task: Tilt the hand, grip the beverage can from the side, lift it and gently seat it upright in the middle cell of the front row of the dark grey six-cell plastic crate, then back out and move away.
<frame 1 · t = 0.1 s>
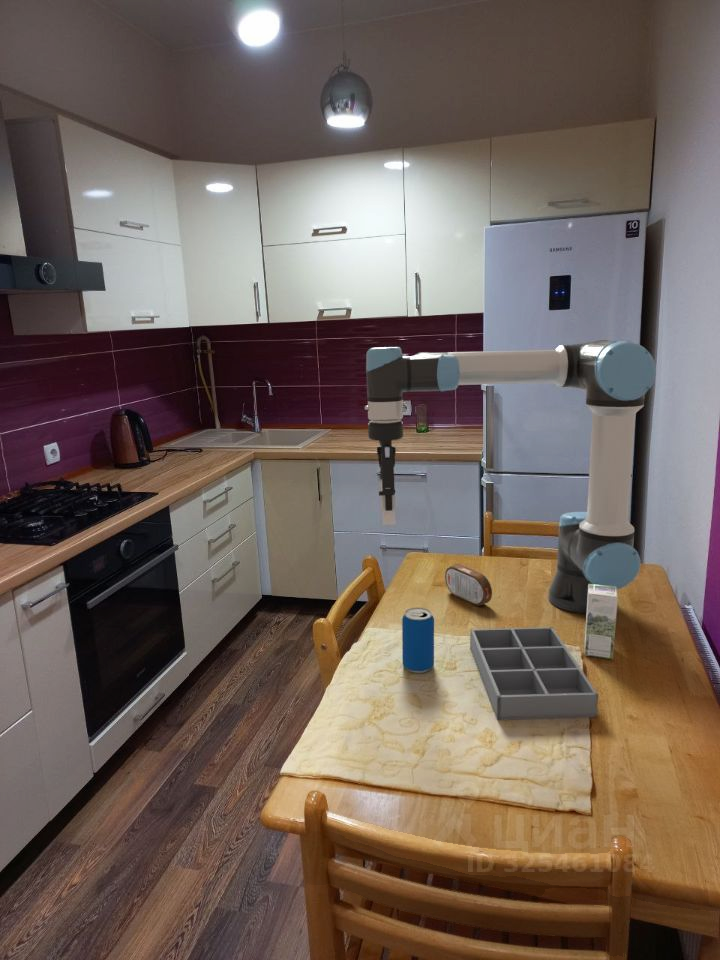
hand: (387, 515, 142), 28 cm above the table, tool pointing down, fingers open, 13 cm apart
beverage can: (418, 667, 133), on the table
syrup box: (598, 652, 137), on the table
can crate: (527, 679, 127), on the table
tin: (466, 600, 165), on the table
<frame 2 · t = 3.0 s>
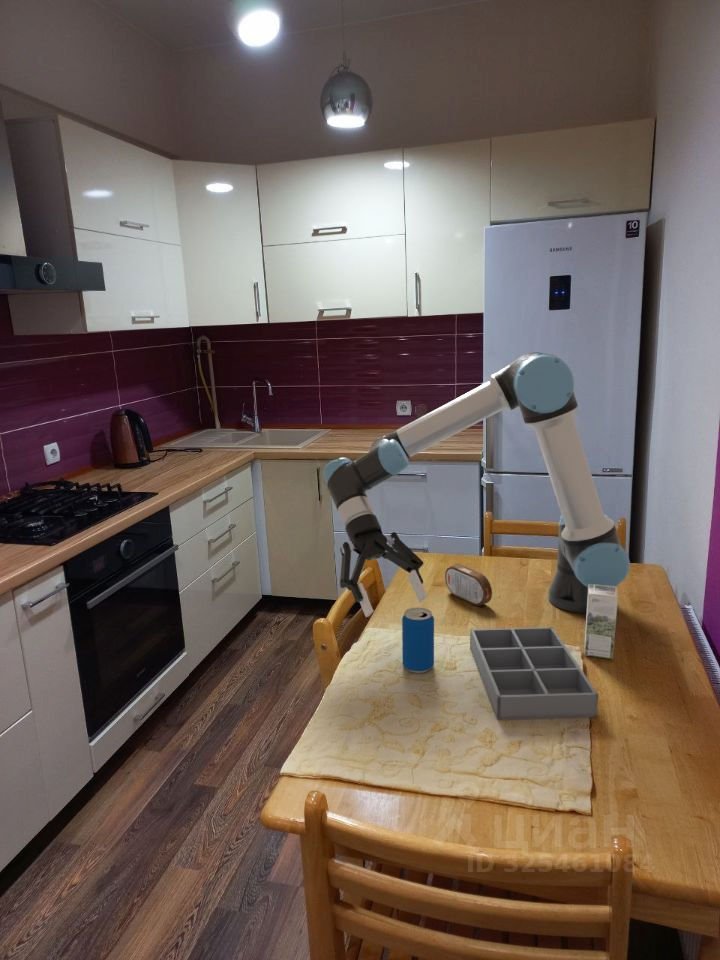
hand: (397, 606, 135), 11 cm above the table, tool tilted 45°, fingers open, 13 cm apart
nothing on the table moved.
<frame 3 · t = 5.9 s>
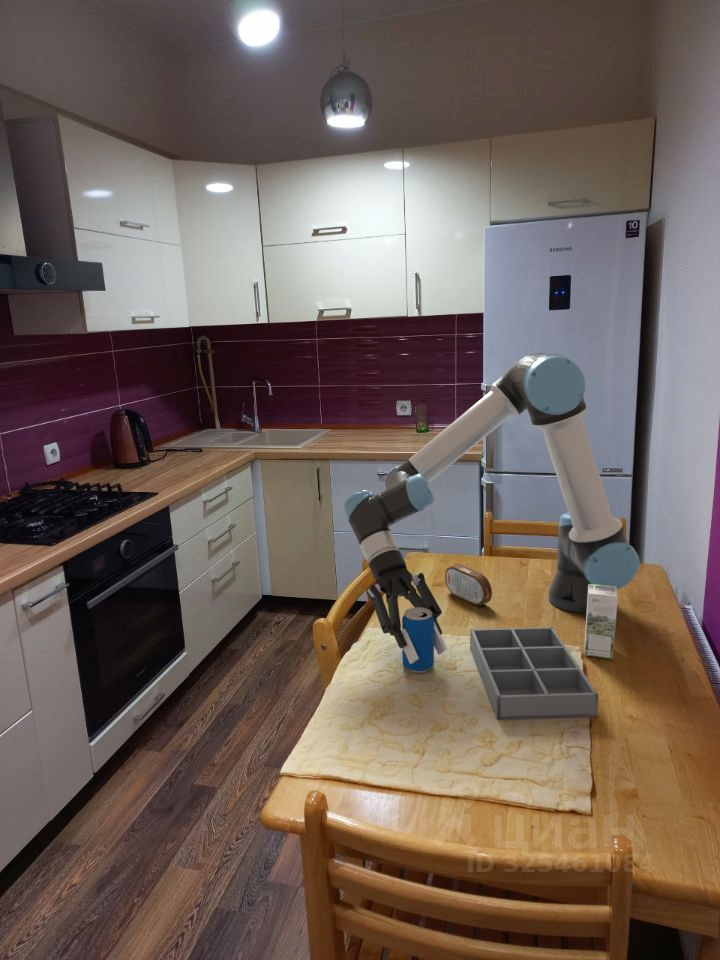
hand: (428, 656, 129), 4 cm above the table, tool tilted 45°, fingers closed on beverage can, 6 cm apart
beverage can: (418, 667, 133), on the table, touching gripper
everything else where it was.
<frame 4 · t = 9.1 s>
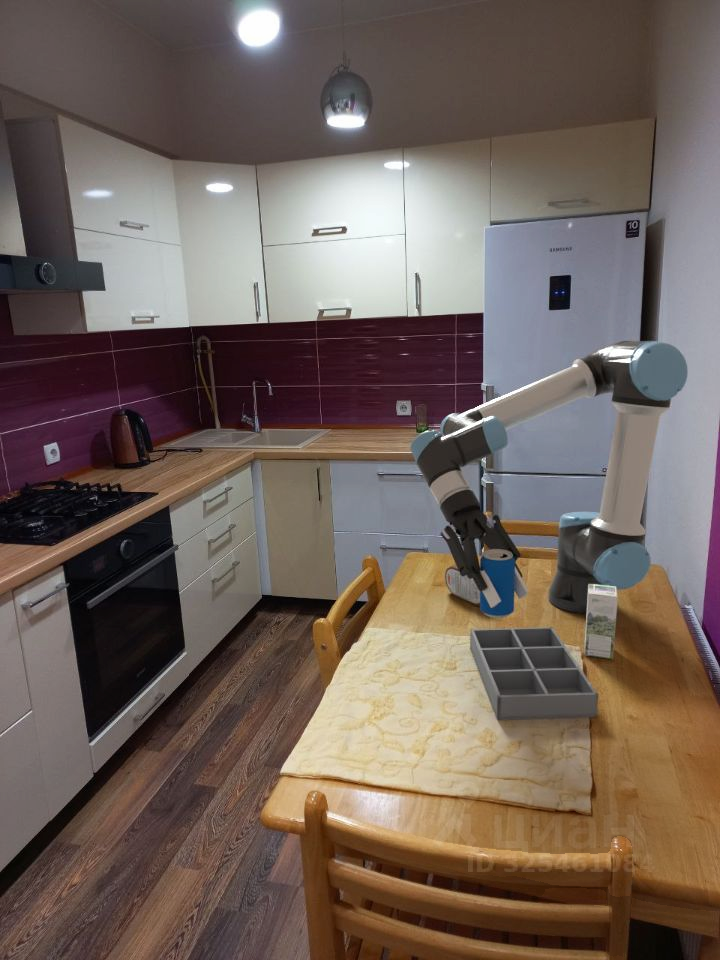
hand: (510, 599, 121), 18 cm above the table, tool tilted 45°, fingers closed on beverage can, 6 cm apart
beverage can: (496, 613, 125), point 14 cm above the table, touching gripper
everything else where it was.
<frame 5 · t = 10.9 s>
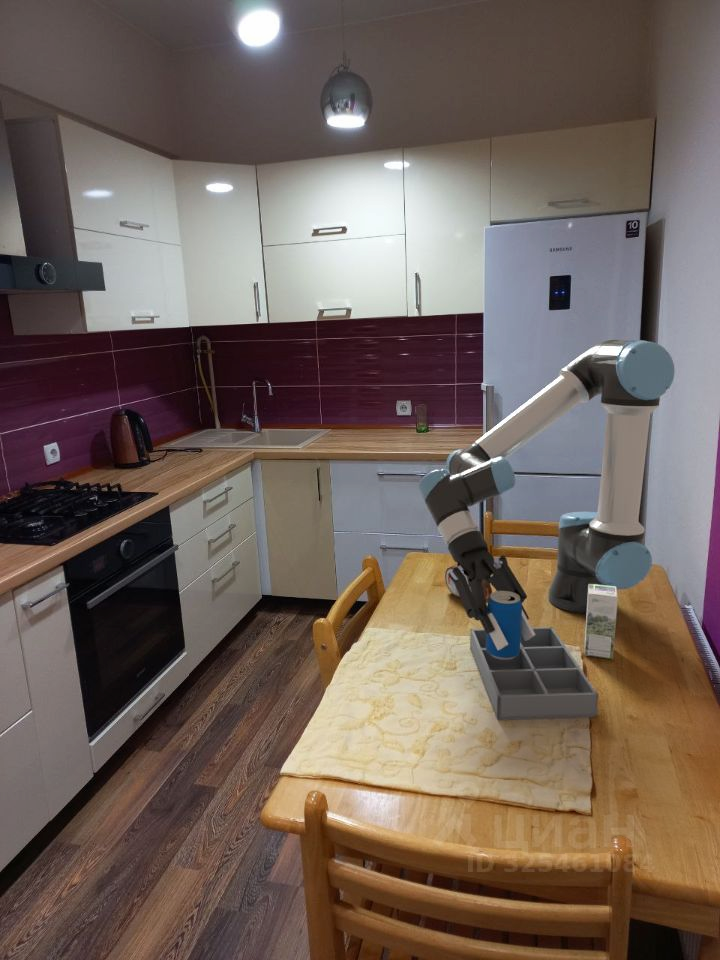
hand: (516, 642, 122), 10 cm above the table, tool tilted 45°, fingers closed on beverage can, 6 cm apart
beverage can: (502, 654, 126), point 6 cm above the table, touching gripper
everything else where it was.
when the fingers open (6 cm above the table, at t = 12.4 s): beverage can drops 1 cm, resting on can crate.
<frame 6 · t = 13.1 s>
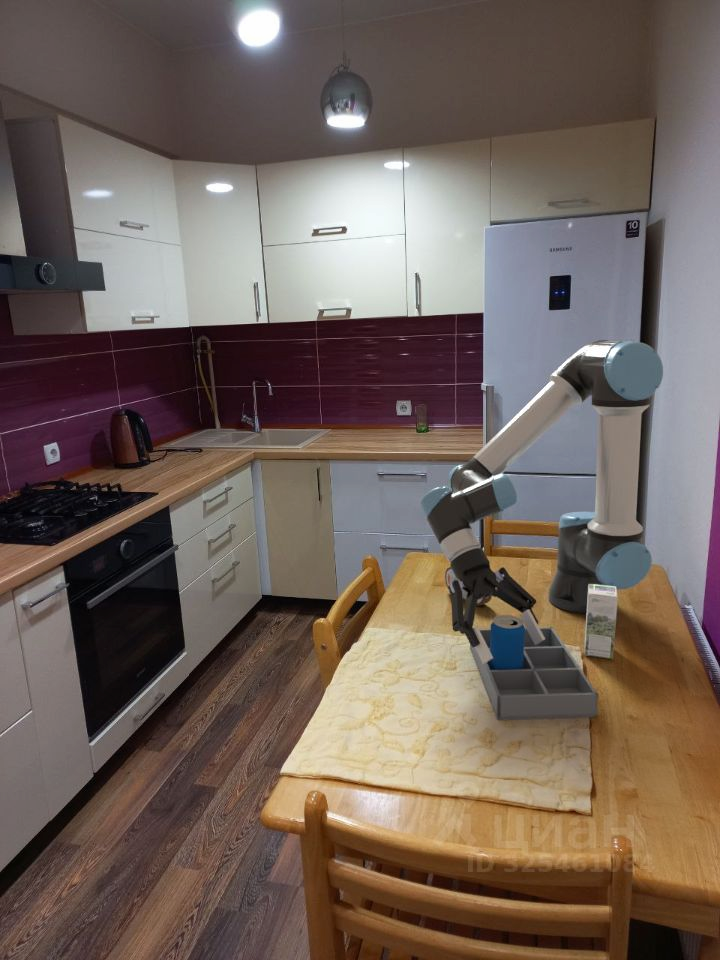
hand: (515, 651, 124), 7 cm above the table, tool tilted 45°, fingers open, 13 cm apart
beverage can: (505, 677, 127), resting on can crate
everything else where it was.
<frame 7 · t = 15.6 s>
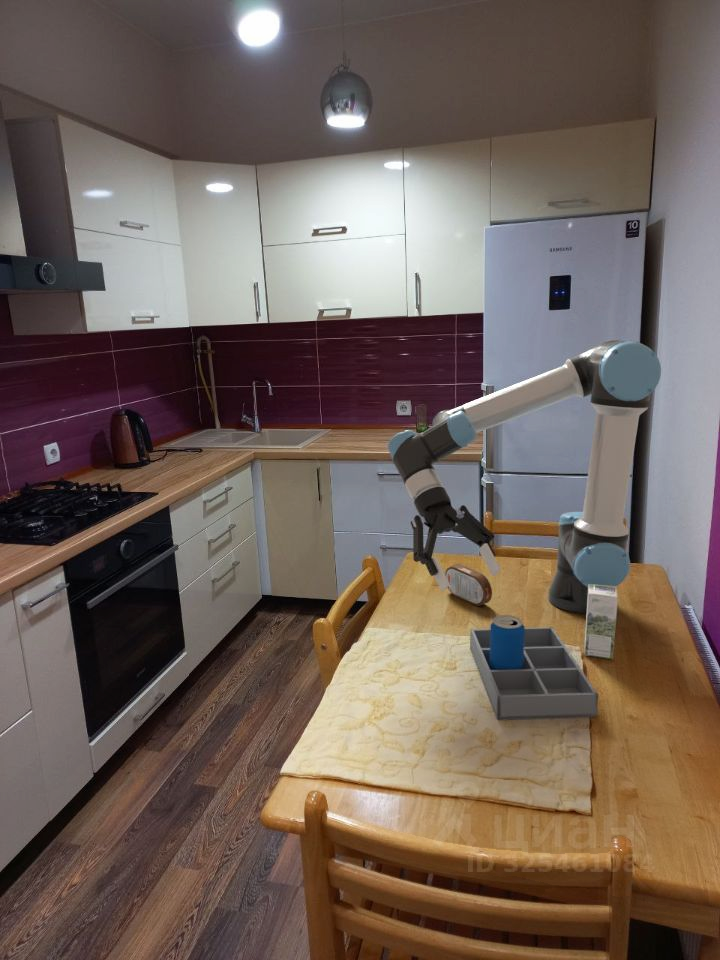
hand: (471, 580, 133), 17 cm above the table, tool tilted 45°, fingers open, 13 cm apart
nothing on the table moved.
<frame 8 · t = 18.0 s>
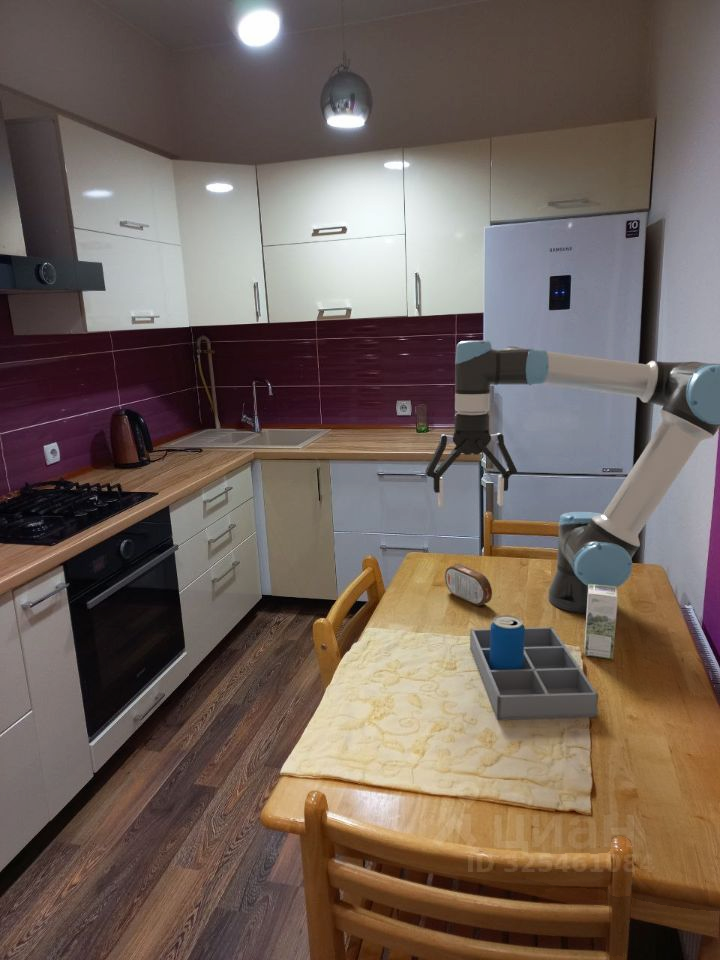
hand: (470, 505, 146), 29 cm above the table, tool pointing down, fingers open, 13 cm apart
nothing on the table moved.
at the end: beverage can 0.1 cm from the target spot on the can crate, point 0.4 cm above the can crate's base; beverage can tilted 0°; the gripper is holding nothing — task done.
